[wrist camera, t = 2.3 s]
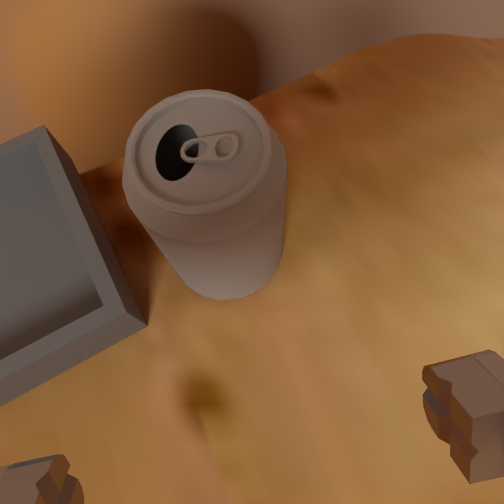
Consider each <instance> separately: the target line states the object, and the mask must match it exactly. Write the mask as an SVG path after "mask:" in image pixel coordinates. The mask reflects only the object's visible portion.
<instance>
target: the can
mask: <svg viewBox="0 0 504 504" xmlns="http://www.w3.org/2000/svg"><path fill="white" fill-rule="evenodd" d="M286 185H287V164H286V154H285V149H284V147H283V145H282V143H281V141H280V139H279V137H278V135H277V133H276V131H275V130H274V129H273V128H272V127H271V126H270V125H269V124H268V123H267V122H266V120H265V118H264V116H263V115H262V114H261V113H260V112H259V111H258V110H257V109H256V108H255V107H254V106H253V105H252V104H251V103H249V102H248V101H246V100H244V99H242V98H240V97H238V96H236V95H234V94H231V93H228V92H223V91H216V90H211V89H205V90H193V91H186V92H183V93H180V94H177V95H174V96H171V97H168V98H165V99H164V100H163V101H161V102H159V103H158V104H156V105H155V106H153V107H152V108H150V109H148V110H147V112H146V113H145V114H144V115H143V116H142V117H141V118H140V119H139V121H138V122H137V123H136V124H135V125H134V127H133V129H132V131H131V134H130V136H129V138H128V141H127V143H126V151H125V160H124V165H123V178H122V186H123V189H124V192H125V196H126V199H127V202H128V206H129V207H130V209H131V210H132V211H133V213H134V214H135V216H136V217H137V218H138V220H139V221H140V222H141V224H142V225H143V227H144V228H145V229H146V231H147V232H148V234H149V235H150V236H151V238H152V239H153V241H154V242H155V243H156V245H157V246H158V248H159V249H160V250H161V252H162V253H163V255H164V256H165V257H166V259H167V260H168V262H169V263H170V264H171V266H172V267H173V269H174V270H175V271H176V273H177V274H178V275H179V277H180V278H181V279H182V280H183V282H184V283H185V284H186V285H187V287H189V288H190V289H192V290H193V291H195V292H197V293H198V294H200V295H201V296H204V297H208V298H212V299H216V300H231V299H239V298H242V297H244V296H247V295H249V294H252V293H255V292H256V291H257V290H258V289H260V288H261V287H262V286H263V285H265V284H266V283H267V282H268V281H269V280H270V279H271V277H272V276H273V274H274V272H275V271H276V269H277V268H278V266H279V262H280V258H281V254H282V250H283V234H284V218H285V201H286Z"/></svg>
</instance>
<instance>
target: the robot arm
mask: <svg viewBox="0 0 504 504" xmlns="http://www.w3.org/2000/svg"><path fill="white" fill-rule="evenodd" d="M422 380H423V381H424V383H425V384H426V386H427V387H428V388H427V389H426V391H425V392H424V394H423V407H424V410H425V414H426V417H427V420H428V422H429V424H430V426H431V428H432V429H433V431H434V432H435V434H436V435H437V437H438V438H439V439H441V440H443V441H444V442H446V443H448V444H450V456H451V458H452V459H453V460H454V462H455V463H456V465H457V466H458V468H459V469H460V471H461V472H462V474H463V475H464V476H465V478H466V479H467V481H468V482H469V484H472V483H476V482H481V481H486V480H490V479H495V478H499V477H504V359H503V358H502V357H501V356H499V355H498V354H497V353H496V352H494V351H492V350H485V351H482V352H478V353H474V354H470V355H467V356H462V357H458V358H454V359H450V360H446V361H442V362H438V363H434V364H430V365H426V366H424V368H423V370H422ZM69 467H70V464H69V462H68V461H67V459H66V457H65V456H64V455H61V454H57V455H52V456H48V457H43V458H38V459H34V460H29V461H24V462H20V463H15V464H12V465H8V466H3V467H0V504H84V494H83V490H82V486H81V484H80V482H79V480H78V479H77V478H75V477H73V476H71V475H69V474H67V473H68V470H69Z"/></svg>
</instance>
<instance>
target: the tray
mask: <svg viewBox="0 0 504 504" xmlns="http://www.w3.org/2000/svg"><path fill="white" fill-rule="evenodd" d="M145 327H147V323H146V321H145V319H144V317H143V315H142V312H141V310H140V308H139V306H138V304H137V301H136V299H135V297H134V295H133V293H132V290H131V288H130V286H129V284H128V282H127V279H126V277H125V275H124V273H123V271H122V269H121V266H120V264H119V262H118V260H117V258H116V255H115V253H114V251H113V249H112V247H111V244H110V242H109V240H108V238H107V236H106V233H105V231H104V229H103V227H102V225H101V222H100V220H99V218H98V216H97V214H96V212H95V209H94V207H93V205H92V203H91V201H90V198H89V196H88V194H87V192H86V190H85V187H84V185H83V183H82V181H81V179H80V176H79V174H78V172H77V170H76V168H75V165H74V163H73V161H72V159H71V158H70V157H69V155H68V154H67V153H66V152H65V150H64V149H63V148H62V147H61V145H60V144H59V143H58V142H57V141H56V139H55V138H54V137H53V136H52V134H51V133H50V132H49V131H48V130H47V128H46V127H45V126H44V125H43V126H41V127H39V128H36V129H35V130H32V131H30V132H28V133H25V134H23V135H21V136H19V137H16V138H14V139H12V140H10V141H8V142H5V143H3V144H1V145H0V406H2V405H3V404H5V403H7V402H9V401H11V400H13V399H14V398H16V397H18V396H20V395H22V394H24V393H25V392H27V391H29V390H31V389H33V388H35V387H36V386H38V385H40V384H42V383H44V382H46V381H47V380H49V379H51V378H53V377H55V376H57V375H58V374H60V373H62V372H64V371H66V370H68V369H69V368H71V367H73V366H75V365H77V364H79V363H81V362H82V361H84V360H86V359H88V358H90V357H92V356H93V355H95V354H97V353H99V352H101V351H103V350H104V349H106V348H108V347H110V346H112V345H114V344H115V343H117V342H119V341H121V340H123V339H125V338H126V337H128V336H130V335H132V334H134V333H136V332H137V331H139V330H141V329H143V328H145Z"/></svg>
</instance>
